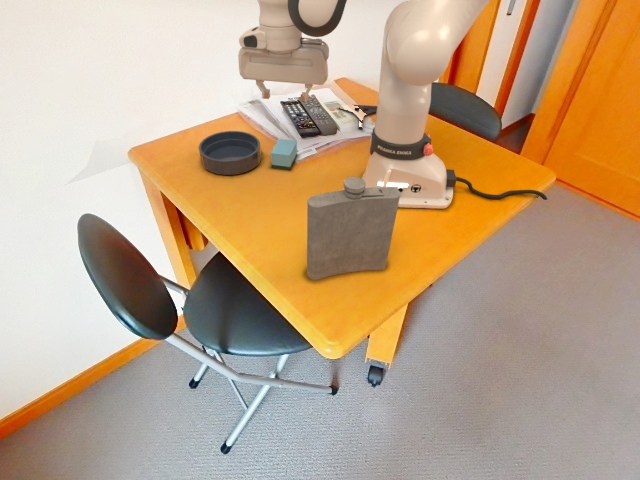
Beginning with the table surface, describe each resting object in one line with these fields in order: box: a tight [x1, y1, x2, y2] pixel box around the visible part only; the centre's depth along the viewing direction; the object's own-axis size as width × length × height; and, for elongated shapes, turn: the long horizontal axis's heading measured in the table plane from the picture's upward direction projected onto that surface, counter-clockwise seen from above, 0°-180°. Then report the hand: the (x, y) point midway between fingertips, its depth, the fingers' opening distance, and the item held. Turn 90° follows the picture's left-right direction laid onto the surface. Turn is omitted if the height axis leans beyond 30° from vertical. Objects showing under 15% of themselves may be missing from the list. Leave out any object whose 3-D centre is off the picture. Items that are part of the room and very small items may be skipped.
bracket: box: [353, 104, 377, 130], centre depth 124 cm, size 14×15×3 cm
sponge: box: [270, 138, 298, 171], centre depth 104 cm, size 8×5×4 cm, turn 169°
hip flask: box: [306, 176, 400, 281], centre depth 71 cm, size 16×4×20 cm, turn 103°
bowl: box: [198, 130, 262, 176], centre depth 104 cm, size 16×16×4 cm
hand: (285, 99), depth 94 cm, fingers open, 8 cm apart
